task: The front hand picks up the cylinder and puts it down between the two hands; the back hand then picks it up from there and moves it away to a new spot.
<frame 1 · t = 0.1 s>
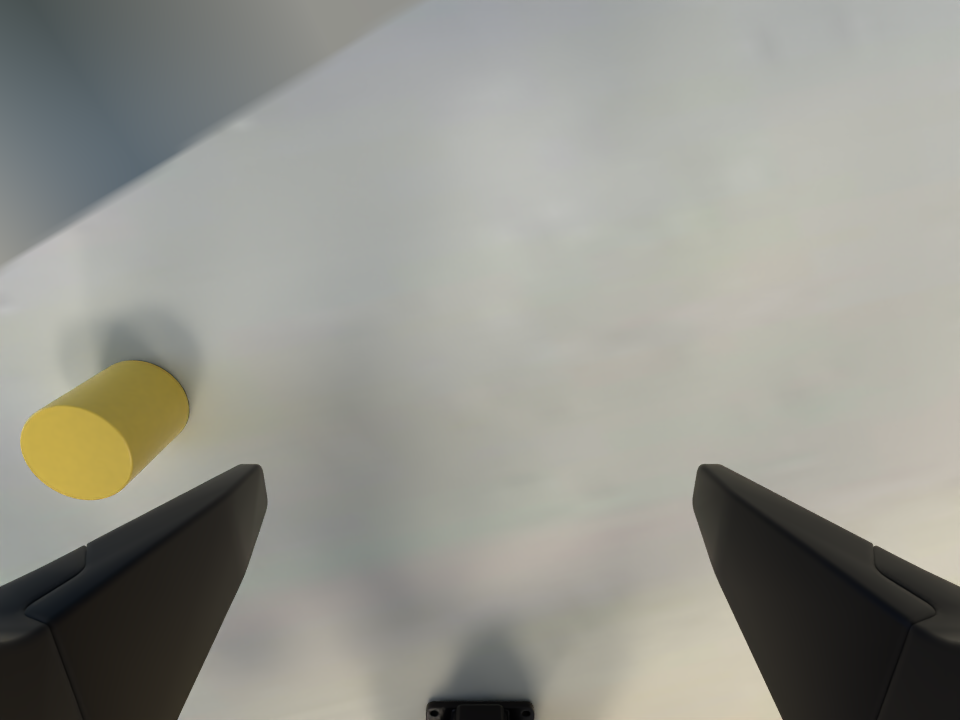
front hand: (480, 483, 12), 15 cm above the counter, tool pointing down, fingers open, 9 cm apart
cylinder: (143, 402, 27), on the counter
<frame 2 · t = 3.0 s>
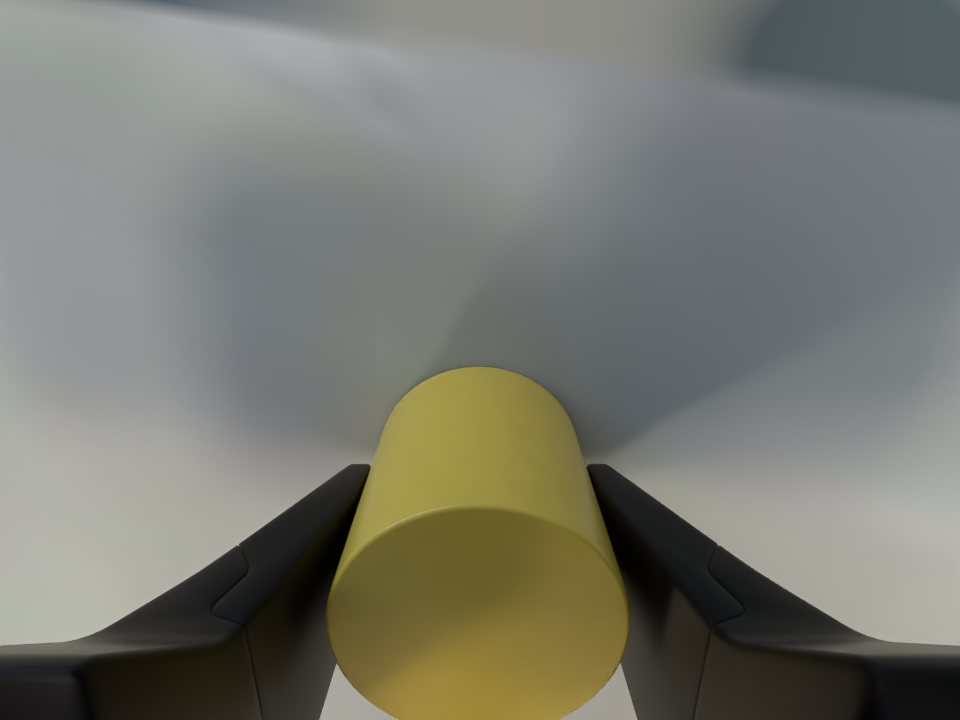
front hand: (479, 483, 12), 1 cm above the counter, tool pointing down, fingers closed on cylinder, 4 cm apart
cylinder: (478, 456, 13), on the counter, touching front hand
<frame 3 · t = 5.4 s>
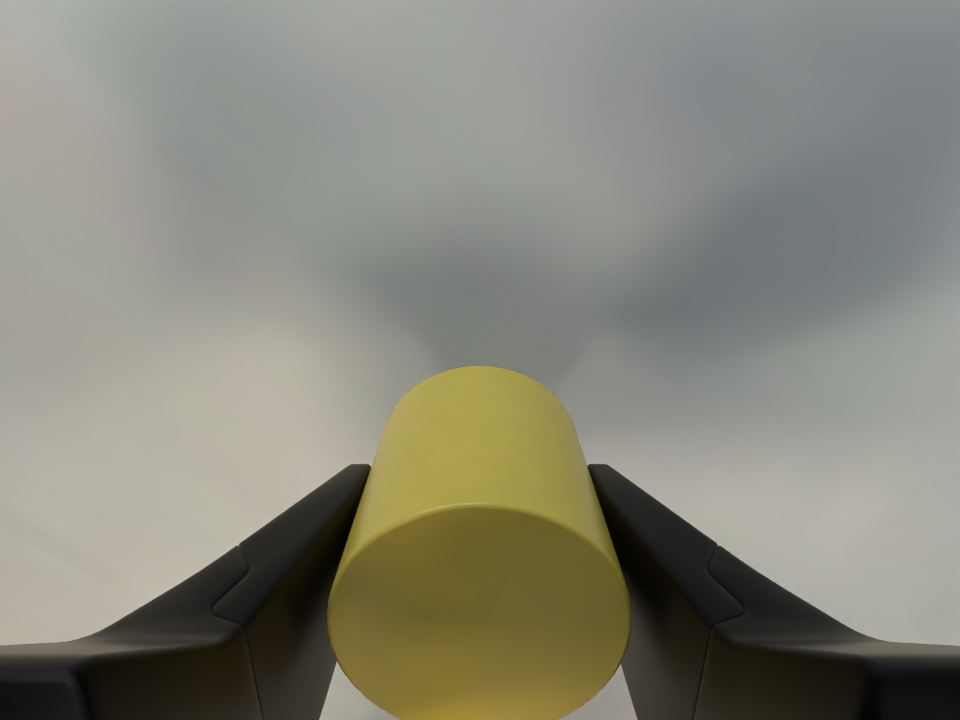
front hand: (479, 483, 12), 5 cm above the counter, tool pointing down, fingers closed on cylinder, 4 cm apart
cylinder: (479, 455, 13), point 4 cm above the counter, touching front hand
when the front hand's fingers open (2 cm above the counter, at t = 8.2 s): cylinder stays where it is, on the counter.
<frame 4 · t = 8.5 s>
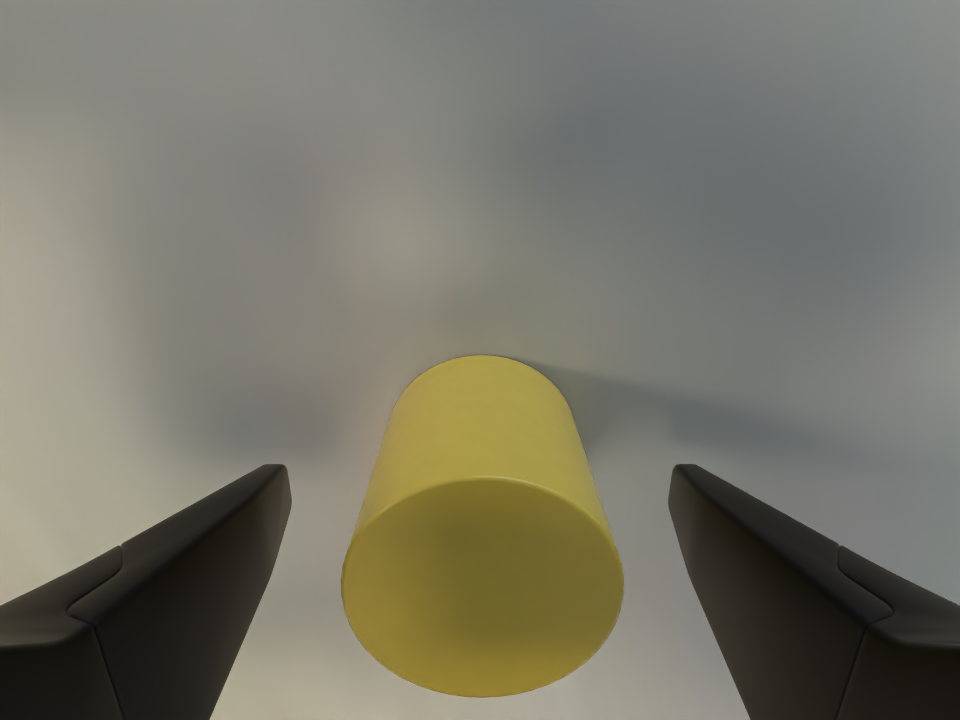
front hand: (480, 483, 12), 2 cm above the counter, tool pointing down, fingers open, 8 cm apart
cylinder: (481, 441, 13), on the counter
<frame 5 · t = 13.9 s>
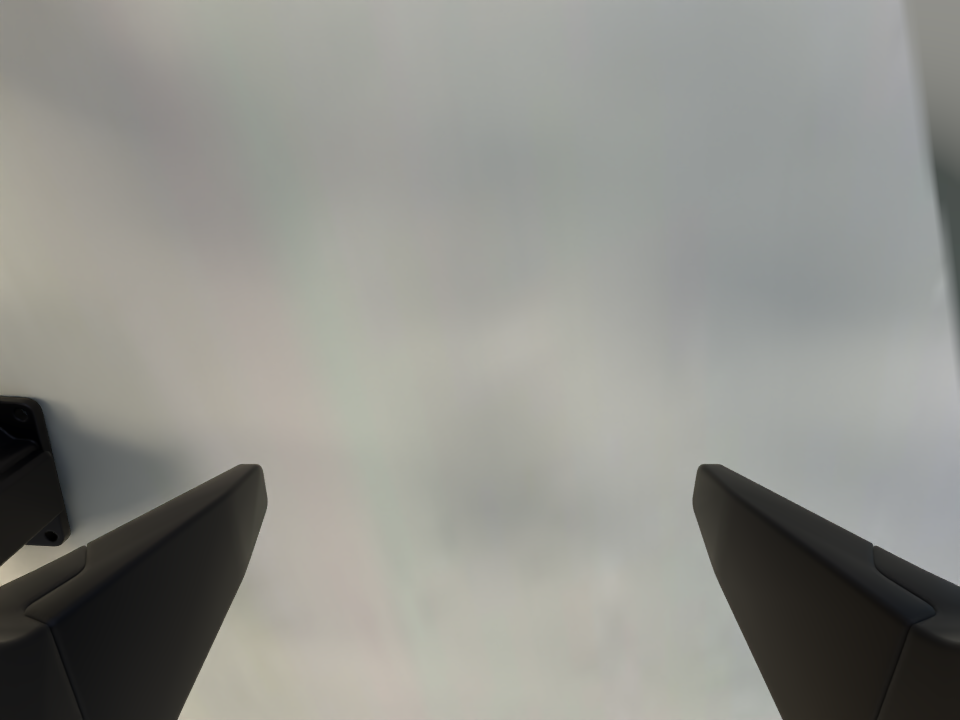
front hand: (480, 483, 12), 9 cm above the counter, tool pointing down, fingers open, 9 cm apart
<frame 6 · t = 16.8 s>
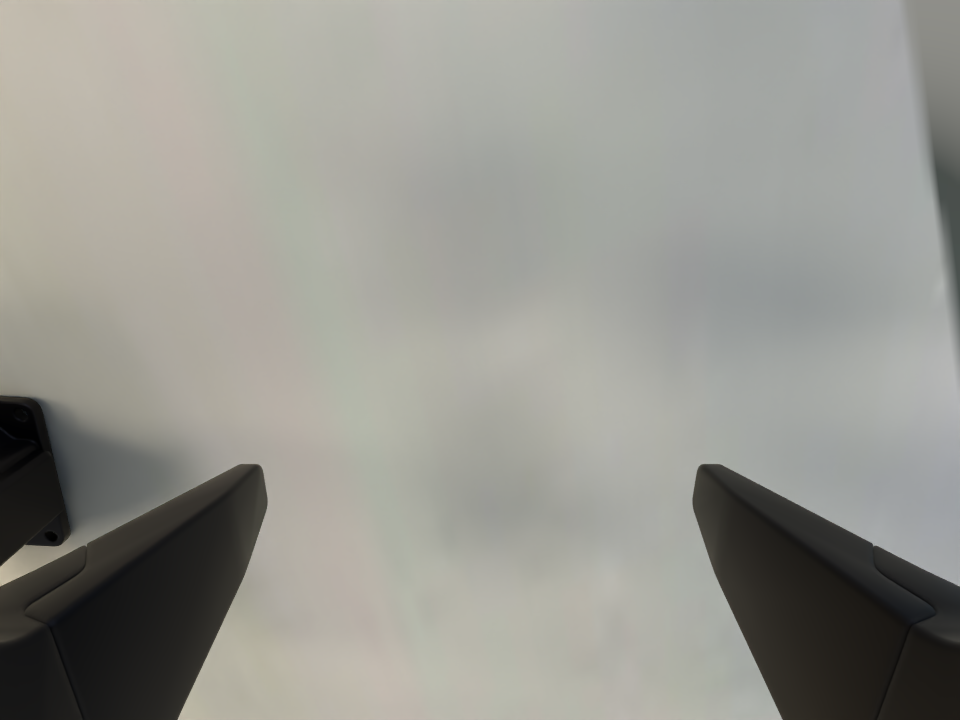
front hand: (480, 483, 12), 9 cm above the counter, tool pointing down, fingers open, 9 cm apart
when the back hand's fingers open (2 cm above the counter, at t = 19.8 s): cylinder stays where it is, on the counter.
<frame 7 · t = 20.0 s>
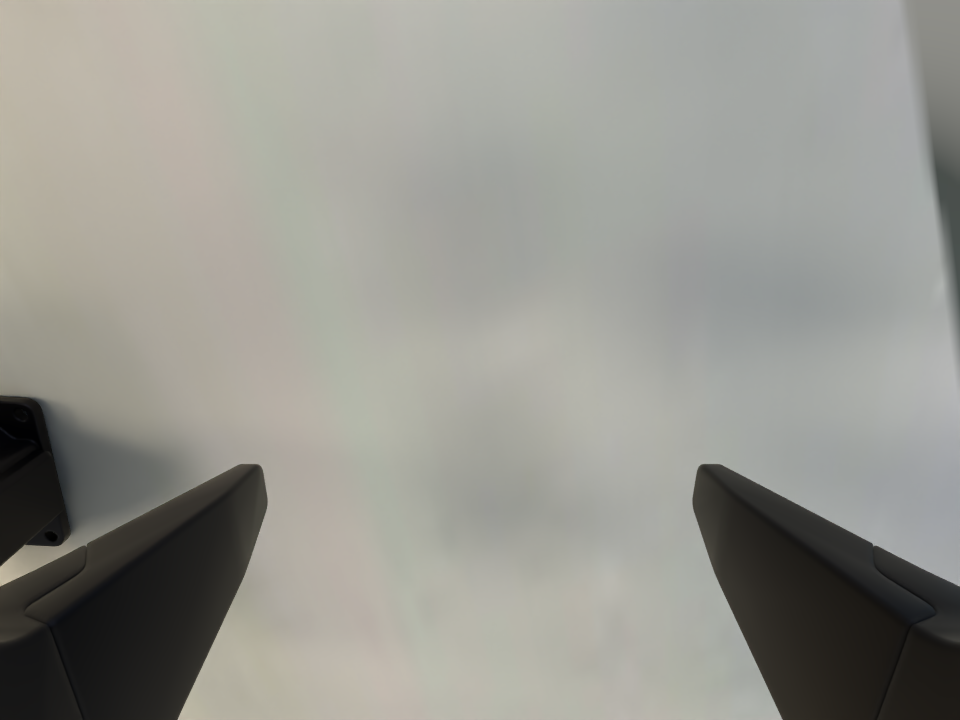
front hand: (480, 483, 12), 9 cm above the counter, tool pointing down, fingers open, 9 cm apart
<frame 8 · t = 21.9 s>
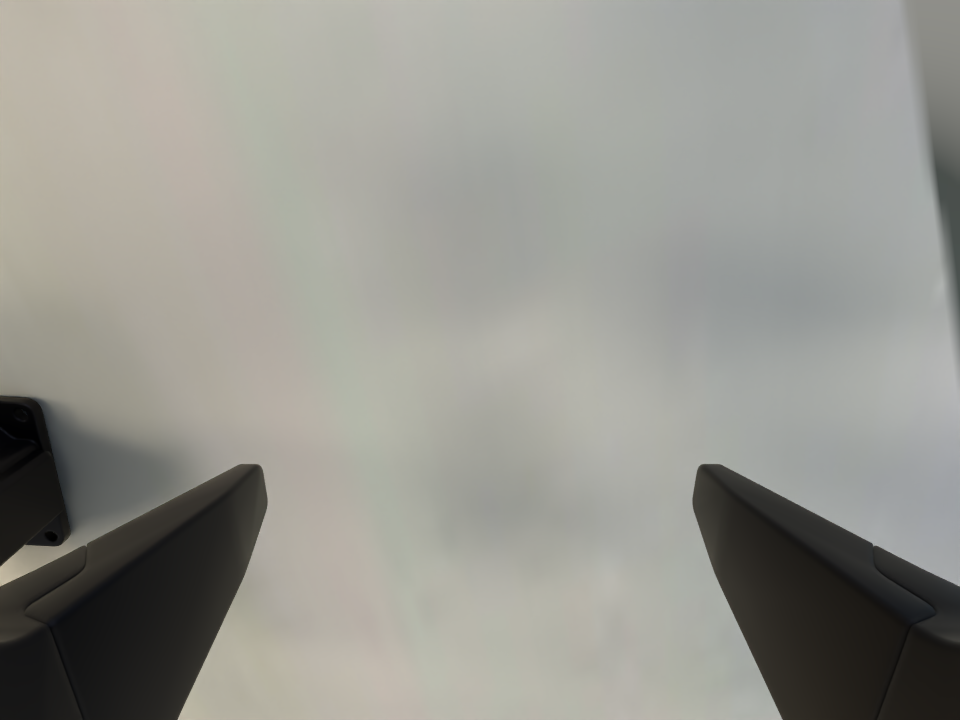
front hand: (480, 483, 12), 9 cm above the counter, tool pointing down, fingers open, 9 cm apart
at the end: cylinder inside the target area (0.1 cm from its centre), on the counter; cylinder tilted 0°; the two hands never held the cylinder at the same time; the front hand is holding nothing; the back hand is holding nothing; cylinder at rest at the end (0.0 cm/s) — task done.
